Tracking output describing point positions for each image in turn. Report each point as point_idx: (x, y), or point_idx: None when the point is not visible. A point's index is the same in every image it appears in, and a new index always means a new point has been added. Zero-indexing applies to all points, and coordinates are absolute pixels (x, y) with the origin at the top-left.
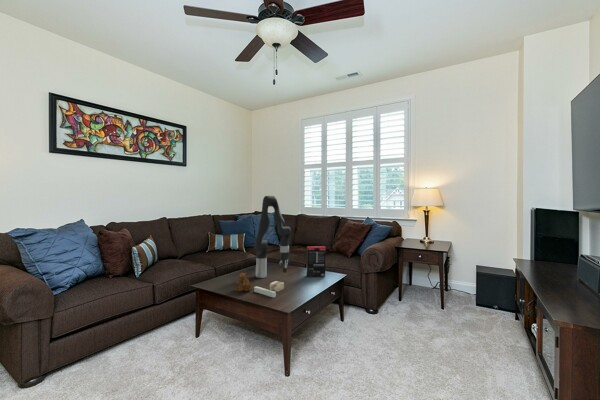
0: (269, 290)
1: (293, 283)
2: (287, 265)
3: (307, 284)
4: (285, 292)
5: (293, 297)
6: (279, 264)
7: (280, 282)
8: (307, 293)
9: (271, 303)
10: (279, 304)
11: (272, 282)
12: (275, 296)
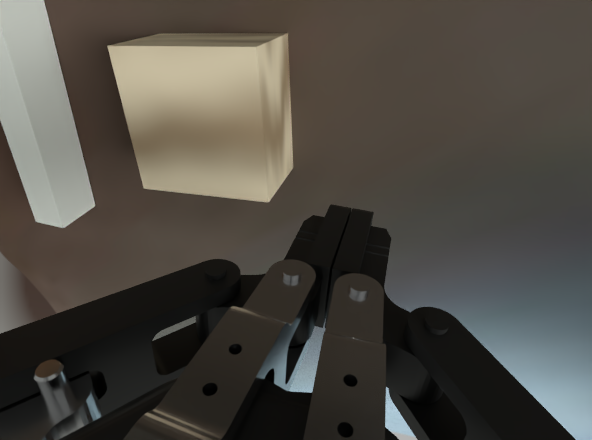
0: (32, 156)
1: (545, 180)
2: (393, 396)
3: (567, 337)
4: (217, 232)
5: (182, 322)
6: (57, 314)
7: (245, 157)
8: (312, 381)
9: (9, 239)
10: (43, 287)
11: (167, 48)
12: (90, 205)
